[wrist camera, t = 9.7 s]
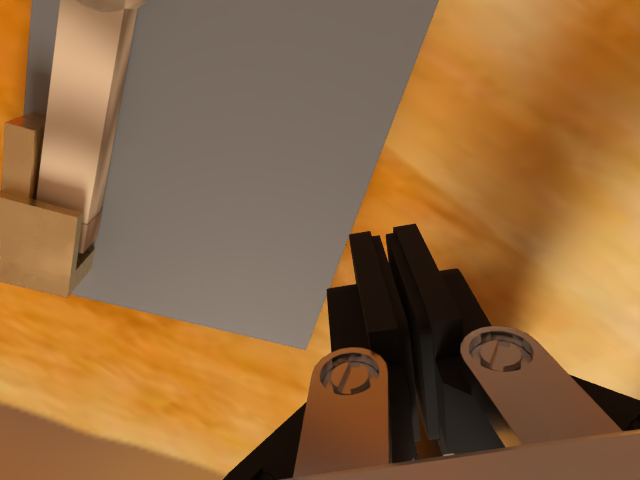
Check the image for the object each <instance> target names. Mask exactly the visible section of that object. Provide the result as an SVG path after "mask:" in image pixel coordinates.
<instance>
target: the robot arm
mask: <svg viewBox="0 0 640 480" xmlns="http://www.w3.org/2000/svg"><path fill="white" fill-rule="evenodd" d="M349 240H350V246H351V253H352V259H353V266H354V272H355V279H356V284H354V285H347V286H341V287H335V288H328V289H327V302H328V314H329V327H330V339H331V351H332V352H331V353H329V354H328V355H326V356H325V357H323V358H322V359H321V360H320V361H319V362H318V363H317V364H316V366H315V368H314V370H313V373H312V376H311V382H310V387H309V393H308V398H307V402H306V403H305V404H304V405H303V406H302V407H301V408H299V409H298V410H297V411H296V412H295V413H294V414H293V415H292V416H291V417H290V418H288V419H287V420H286V421H285V422H284V423H283V424H282V425H281V426H280V427H279V428H278V429H276V430H275V431H274V432H273V433H272V434H271V435H270V436H269V437H268V438H267V439H265V440H264V441H263V442H262V443H261V444H260V445H259V446H258V447H257V448H256V449H255V450H253V451H252V452H251V453H250V454H249V455H248V456H247V457H246V458H245V459H244V460H243V461H241V462H240V463H239V464H238V465H237V466H236V467H235V468H234V469H233V470H232V471H230V472H229V473H228V474H227V476H226V477H225V478H224V479H223V480H640V400H637V399H634V398H631V397H629V396H626V395H623V394H620V393H618V392H615V391H612V390H610V389H607V388H604V387H601V386H599V385H596V384H593V383H590V382H588V381H585V380H582V379H580V378H577V377H574V376H571V375H569V374H568V373H567V372H566V371H565V370H564V369H563V368H562V367H561V366H560V365H559V364H558V363H557V362H556V361H555V359H554V358H553V357H552V356H551V355H550V354H549V353H548V352H547V351H546V350H545V349H544V348H543V347H542V346H541V345H540V344H539V343H538V342H537V341H536V340H535V339H534V338H533V337H531V336H530V335H529V334H527V333H525V332H522V331H520V330H518V329H514V328H510V327H506V326H491V324H490V322H489V321H488V319H487V317H486V315H485V314H484V312H483V310H482V309H481V307H480V305H479V303H478V302H477V300H476V298H475V296H474V295H473V293H472V291H471V289H470V288H469V286H468V284H467V282H466V281H465V279H464V277H463V275H462V274H461V272H460V271H459V269H457V268H456V269H449V270H443V271H439V270H438V268H437V266H436V264H435V262H434V260H433V258H432V256H431V254H430V252H429V250H428V248H427V246H426V244H425V242H424V239H423V237H422V235H421V233H420V231H419V229H418V227H417V225H416V224H411V225H405V226H398V227H393V233H391V234H386V243H387V252H388V260H389V263H388V260H387V257H386V254H385V251H384V248H383V244H382V241H381V238H380V235H378V236H371V232H370V231H367V232H361V233H355V234H349ZM417 403H418V407H419V411H420V414H421V418H422V421H423V425H424V428H425V432H426V435H427V438H428V440H431V439H437V441H438V444H439V447H440V450H441V454H442V455H446V454H455V455H448V456H441V457H434V458H427V459H420V460H413V461H411V460H412V459H413V458H414V457H415V455H416V452H415V443H414V442H417V441H420V430H419V420H418V410H417Z"/></svg>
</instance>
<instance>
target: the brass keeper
mask: <svg viewBox="0 0 640 480" xmlns="http://www.w3.org/2000/svg"><path fill="white" fill-rule="evenodd" d="M45 122H46V116H44V115H41V114H38V113H34V112H32V113H29V114H27V115H24V116H21V117H18V118H16V119H13V120H10V121H7V122H5V130H4V147H3V165H2V183H1V191H0V282H3V283H7V284H11V285H15V286H20V287H24V288H28V289H32V290H37V291H41V292H45V293H49V294H54V295H58V296H62V297H66V298H68V296H69V295H70V294H71V293H72V292H73V290H74V289H75V288H76V287H77V286H78V284H79V283H80V282H81V281H82V279H83V278H84V277H85V276H86V275H87V273H88V272H89V271H90V270H91V269H92V263H93V256H94V249H92V248H88V249H87V250H86V251H85V252H84V253H83V254H82V253H79V252H78V249H79V242H80V234H81V227H82V219H83V212H80V211H76V210H72V209H68V208H65V207H61V206H57V205H53V204H49V203H46V202H42V201H38V200H36V196H37V188H38V180H39V172H40V163H41V155H42V147H43V139H44V131H45Z"/></svg>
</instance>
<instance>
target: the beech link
mask: <svg viewBox="0 0 640 480" xmlns="http://www.w3.org/2000/svg"><path fill="white" fill-rule="evenodd" d="M147 1H148V0H60V7H59V15H58V24H57V32H56V40H55V48H54V57H53V65H52V73H51V81H50V89H49V98H48V106H47V114H46V122H45V131H44V139H43V147H42V155H41V163H40V172H39V180H38V188H37V196H36V200H38V201H42V202H46V203H49V204H53V205H57V206H61V207H65V208H68V209H72V210H76V211H80V212H83V219H82V227H81V234H80V242H79V249H78V252H79V253H82V254H83V253H84V252H85V251H86V250H87V249H88V247H89V246H90V245H91V244H92V243H93V242H94V241H95V240H96V239H97V236H98V230H99V225H100V219H101V214H102V211H101V208H102V202H103V197H104V191H105V186H106V180H107V175H108V169H109V164H110V158H111V153H112V147H113V141H114V136H115V130H116V125H117V119H118V114H119V108H120V103H121V97H122V92H123V86H124V81H125V75H126V70H127V64H128V59H129V53H130V48H131V42H132V37H133V31H134V26H135V20H136V15H137V9H139V8H140V7H142V6H143V5H144V4H145V3H146V2H147Z"/></svg>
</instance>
